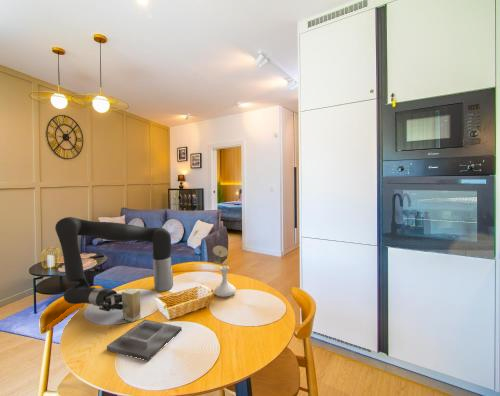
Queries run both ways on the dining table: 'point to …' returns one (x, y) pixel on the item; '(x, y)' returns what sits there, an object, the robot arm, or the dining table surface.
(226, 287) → the flower in vase
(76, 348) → the dining table surface
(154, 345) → the holder board
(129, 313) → the skincare box
